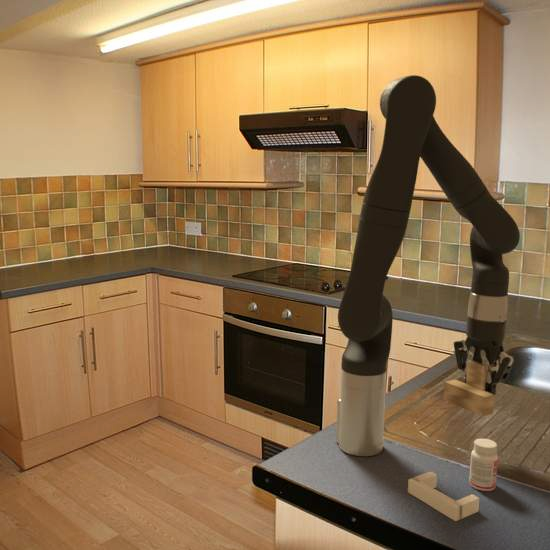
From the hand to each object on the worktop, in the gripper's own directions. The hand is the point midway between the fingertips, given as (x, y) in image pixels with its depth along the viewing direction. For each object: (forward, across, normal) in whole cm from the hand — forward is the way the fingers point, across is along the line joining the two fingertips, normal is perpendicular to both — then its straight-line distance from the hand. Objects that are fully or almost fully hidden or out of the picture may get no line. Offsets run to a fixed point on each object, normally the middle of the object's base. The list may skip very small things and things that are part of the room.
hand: (479, 395), depth 125 cm
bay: (+12, +10, -22) cm, 27 cm away
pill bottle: (+12, +11, -11) cm, 20 cm away
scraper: (+2, 0, -1) cm, 2 cm away
